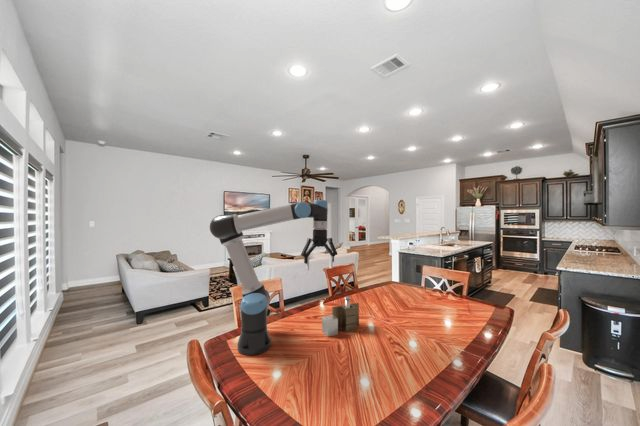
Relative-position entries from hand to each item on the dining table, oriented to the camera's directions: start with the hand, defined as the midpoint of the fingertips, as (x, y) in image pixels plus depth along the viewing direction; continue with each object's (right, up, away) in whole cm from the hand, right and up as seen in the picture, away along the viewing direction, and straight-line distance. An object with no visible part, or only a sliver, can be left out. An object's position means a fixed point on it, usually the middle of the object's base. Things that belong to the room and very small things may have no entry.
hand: (319, 269), depth 141 cm
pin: (+15, -32, +1) cm, 36 cm away
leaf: (+11, -32, -2) cm, 34 cm away
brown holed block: (+18, -32, +2) cm, 37 cm away
